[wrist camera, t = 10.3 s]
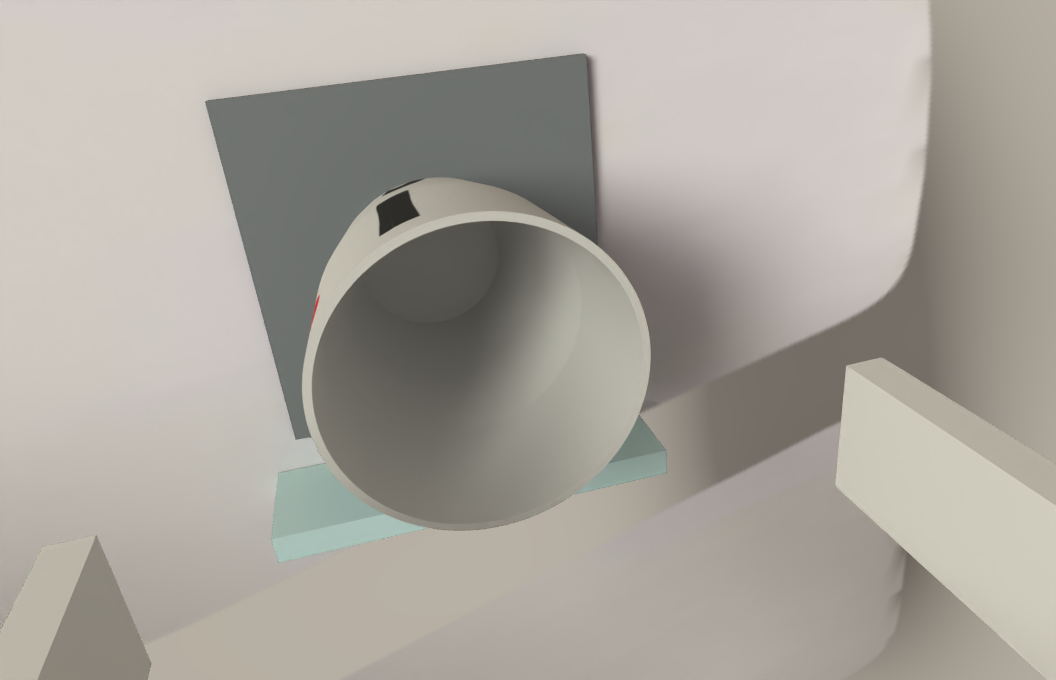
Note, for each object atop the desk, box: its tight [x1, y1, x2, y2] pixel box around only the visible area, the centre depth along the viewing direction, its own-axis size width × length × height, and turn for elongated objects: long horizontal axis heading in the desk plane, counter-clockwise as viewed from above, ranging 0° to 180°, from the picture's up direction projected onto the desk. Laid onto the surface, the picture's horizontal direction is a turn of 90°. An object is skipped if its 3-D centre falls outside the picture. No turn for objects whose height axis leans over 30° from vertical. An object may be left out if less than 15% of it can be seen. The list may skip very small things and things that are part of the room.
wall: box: [271, 415, 667, 563], centre depth 28 cm, size 14×1×4 cm, turn 95°
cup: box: [302, 177, 651, 531], centre depth 22 cm, size 8×8×10 cm
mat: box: [205, 54, 598, 440], centre depth 26 cm, size 12×12×1 cm
